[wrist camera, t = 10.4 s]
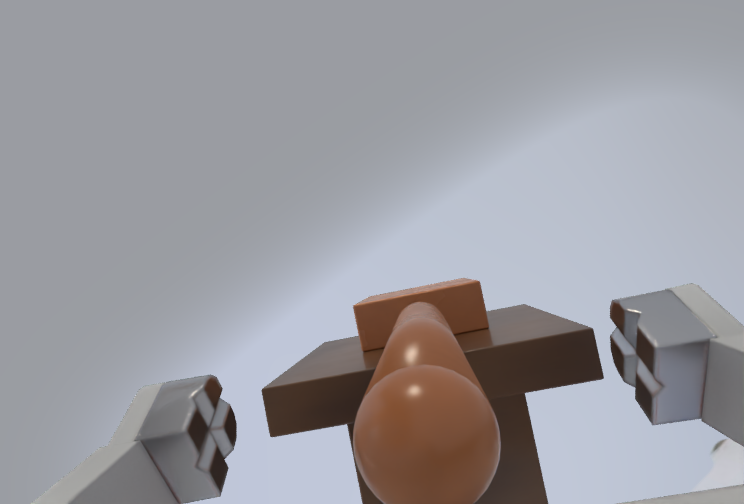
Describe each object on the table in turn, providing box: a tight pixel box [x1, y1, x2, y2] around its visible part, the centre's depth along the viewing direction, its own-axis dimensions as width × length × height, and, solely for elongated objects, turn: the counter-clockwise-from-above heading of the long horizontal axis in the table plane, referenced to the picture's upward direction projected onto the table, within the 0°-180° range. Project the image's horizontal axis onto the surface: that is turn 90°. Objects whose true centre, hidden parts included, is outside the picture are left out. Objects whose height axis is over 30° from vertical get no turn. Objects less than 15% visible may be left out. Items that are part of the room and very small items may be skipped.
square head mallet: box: [353, 278, 501, 504], centre depth 15 cm, size 5×20×2 cm, turn 175°
